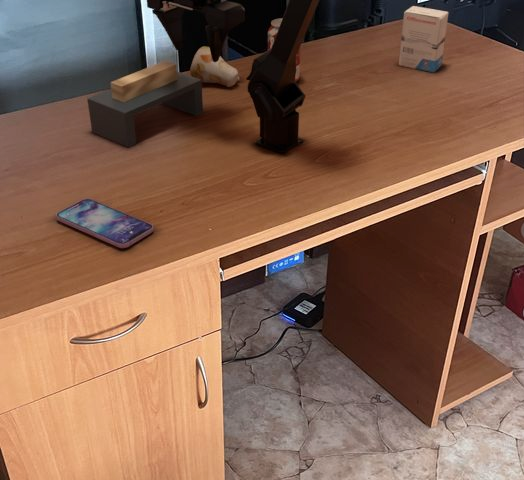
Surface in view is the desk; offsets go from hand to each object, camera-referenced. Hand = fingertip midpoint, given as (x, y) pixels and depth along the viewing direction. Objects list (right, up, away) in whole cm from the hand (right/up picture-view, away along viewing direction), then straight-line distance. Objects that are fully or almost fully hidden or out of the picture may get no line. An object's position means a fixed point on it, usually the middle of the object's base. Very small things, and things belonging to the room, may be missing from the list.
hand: (197, 55), depth 143 cm
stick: (-10, -5, +4) cm, 12 cm away
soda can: (+16, +4, +25) cm, 30 cm away
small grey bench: (-10, -10, +9) cm, 16 cm away
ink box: (+47, +9, +32) cm, 57 cm away
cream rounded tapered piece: (+2, +3, +24) cm, 24 cm away
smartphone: (-13, -34, -20) cm, 42 cm away
